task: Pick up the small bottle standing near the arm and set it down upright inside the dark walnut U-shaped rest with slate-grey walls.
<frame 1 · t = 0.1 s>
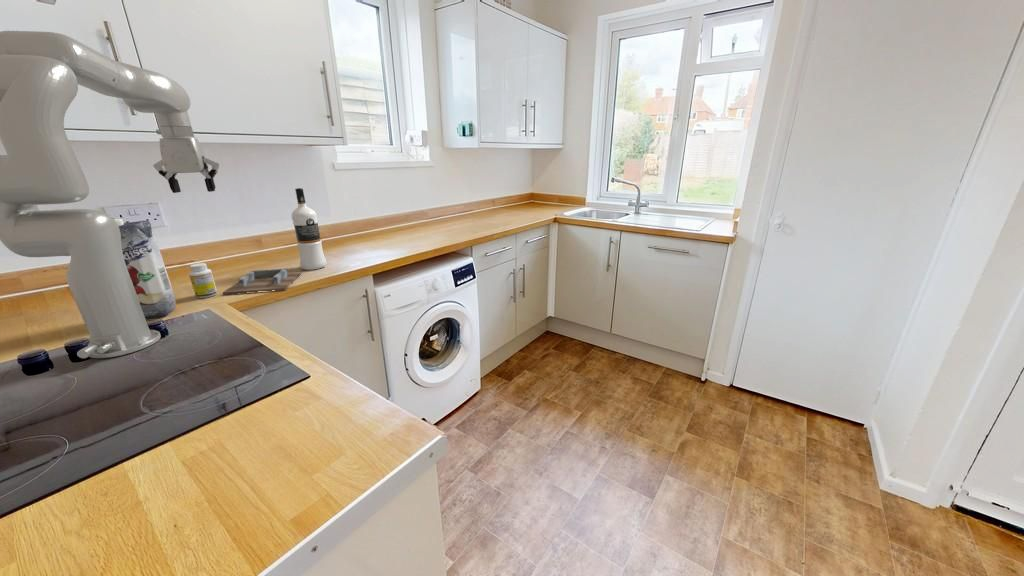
hand: (194, 191, 122), 31 cm above the counter, tool pointing down, fingers open, 9 cm apart
vodka: (314, 267, 151), on the counter
supplement bottle: (207, 296, 123), on the counter
u rest: (265, 284, 132), on the counter
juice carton: (153, 315, 108), on the counter
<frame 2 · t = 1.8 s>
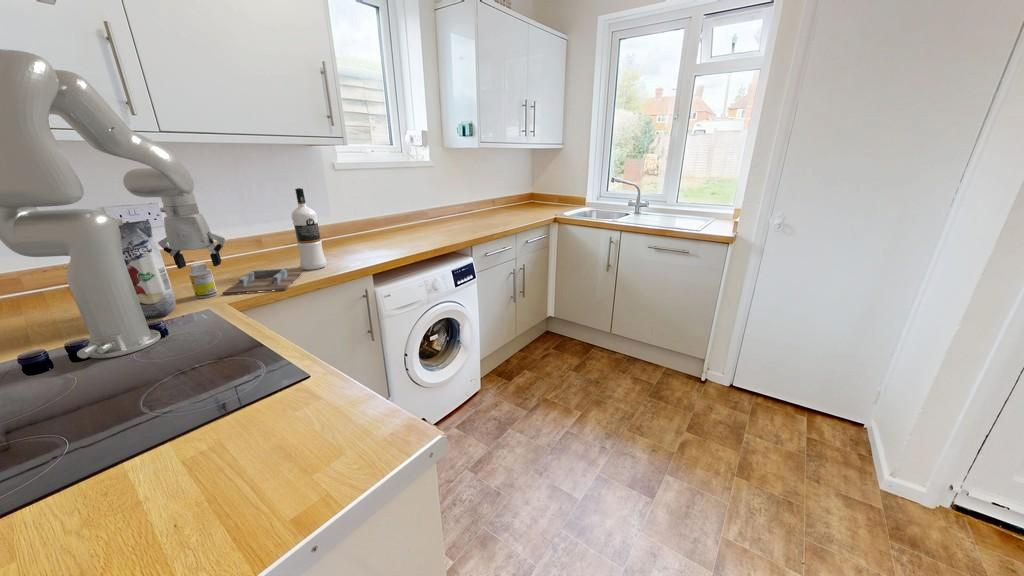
hand: (200, 266, 120), 9 cm above the counter, tool pointing down, fingers open, 9 cm apart
nothing on the counter moved.
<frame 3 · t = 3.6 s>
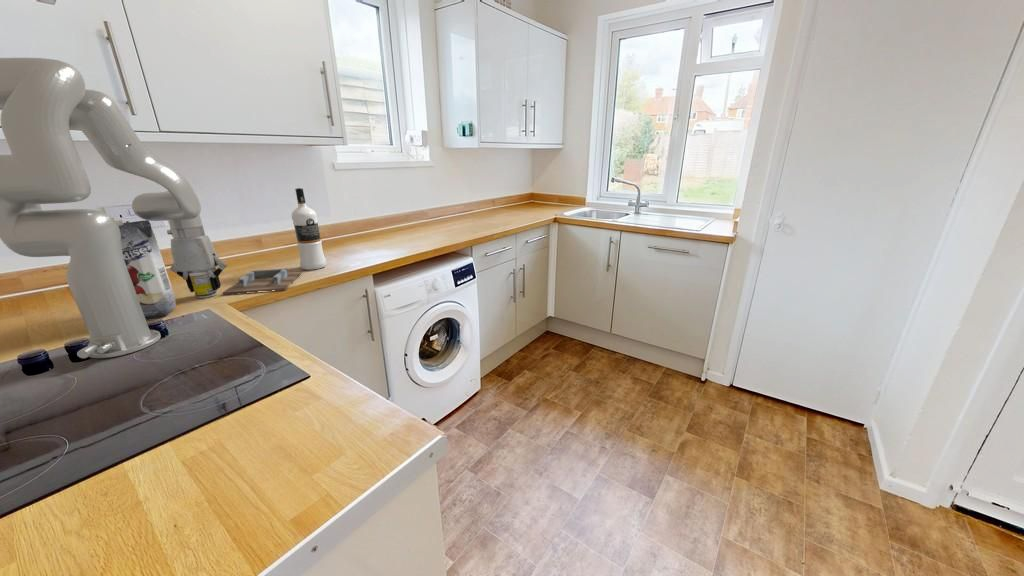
hand: (205, 289, 122), 2 cm above the counter, tool pointing down, fingers closed on supplement bottle, 5 cm apart
supplement bottle: (207, 296, 123), on the counter, touching gripper
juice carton: (153, 315, 108), on the counter, touching arm
everything else where it was.
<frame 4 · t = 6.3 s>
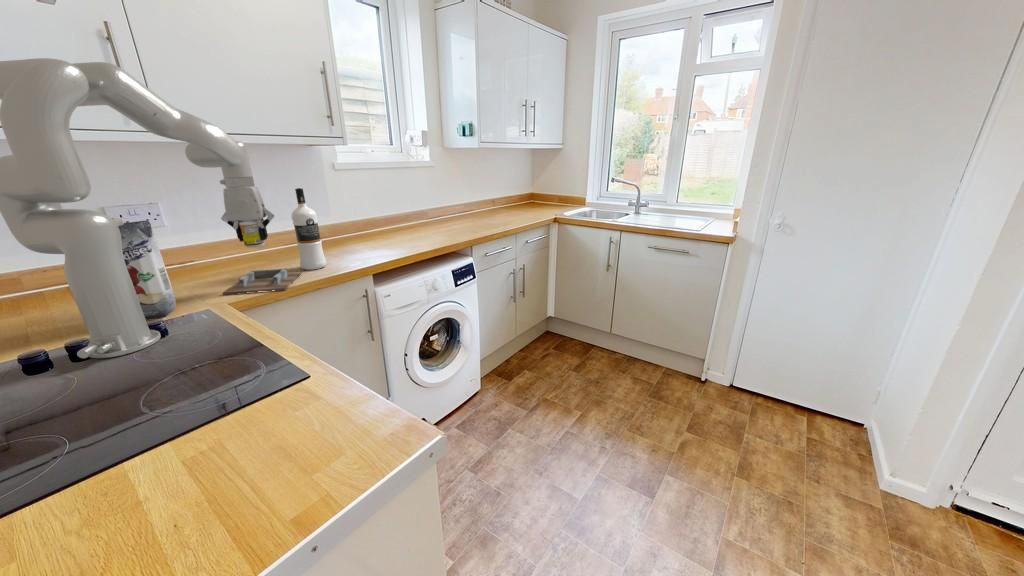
hand: (253, 239, 127), 16 cm above the counter, tool pointing down, fingers closed on supplement bottle, 5 cm apart
supplement bottle: (255, 246, 128), point 13 cm above the counter, touching gripper
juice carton: (153, 315, 108), on the counter
everything else where it was.
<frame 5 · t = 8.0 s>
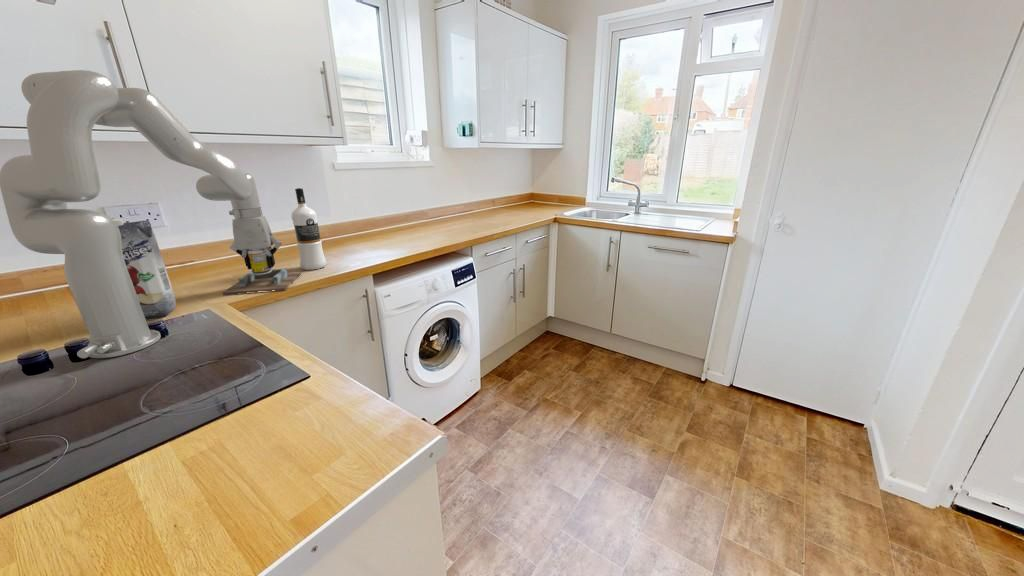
hand: (261, 267, 130), 6 cm above the counter, tool pointing down, fingers closed on supplement bottle, 5 cm apart
supplement bottle: (262, 273, 131), point 4 cm above the counter, touching gripper
everything else where it was.
when the fingers open (5 cm above the counter, at t = 9.1 s): supplement bottle drops 2 cm, resting on u rest.
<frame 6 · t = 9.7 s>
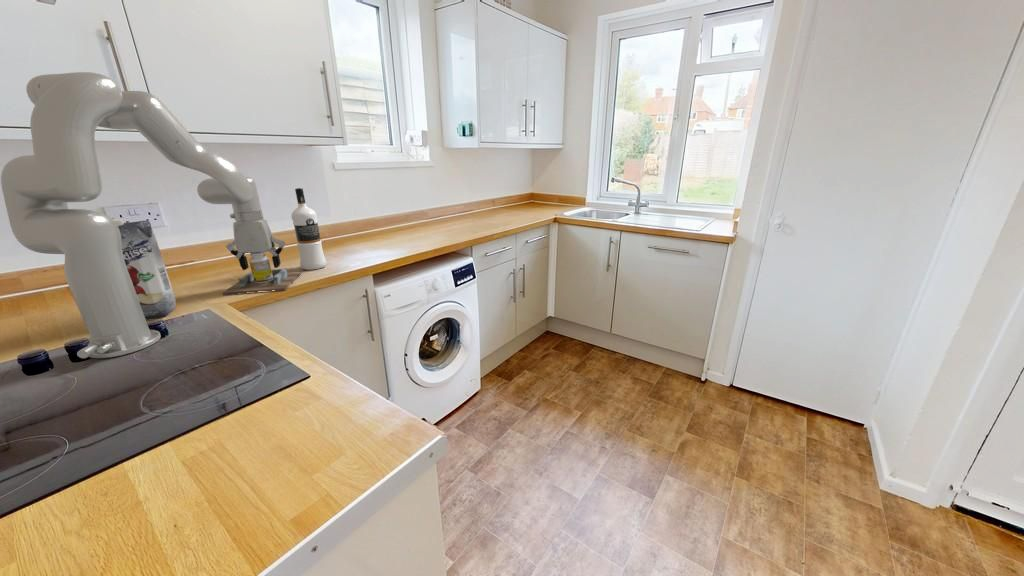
hand: (261, 267, 130), 6 cm above the counter, tool pointing down, fingers open, 9 cm apart
supplement bottle: (264, 282, 132), point 1 cm above the counter, touching u rest
everything else where it was.
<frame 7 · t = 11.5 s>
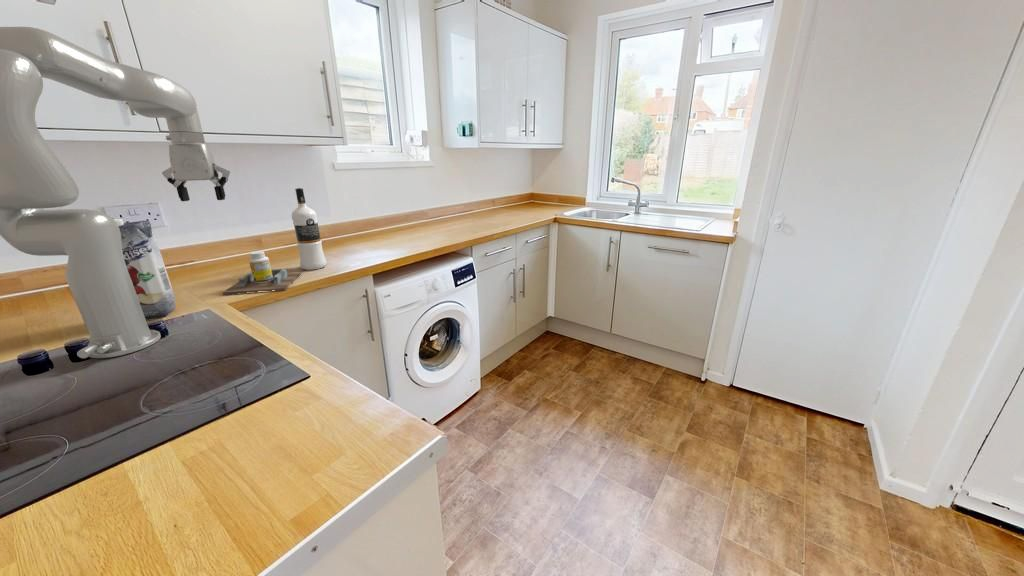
hand: (203, 200, 117), 29 cm above the counter, tool pointing down, fingers open, 9 cm apart
nothing on the counter moved.
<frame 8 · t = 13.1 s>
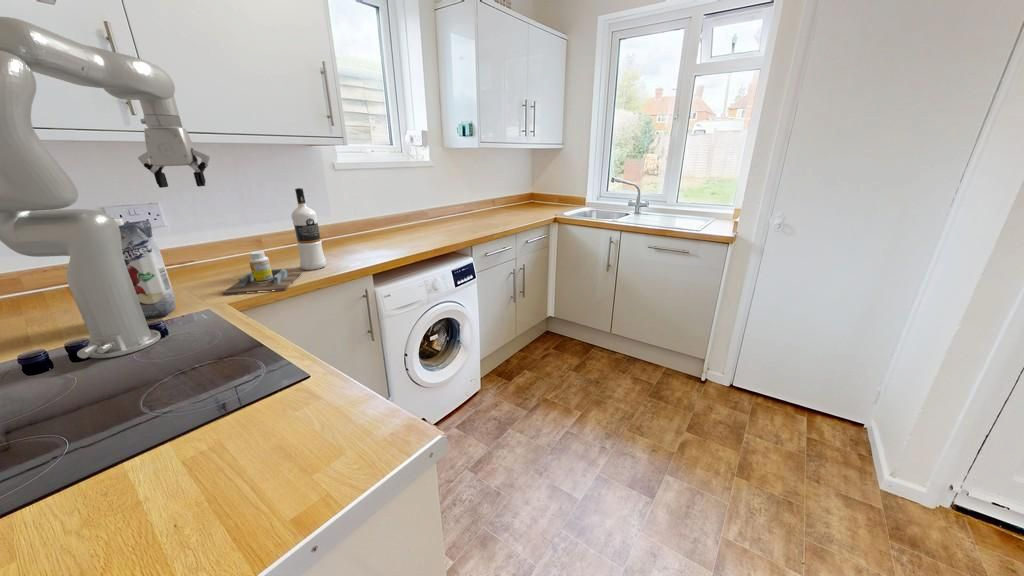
hand: (182, 186, 113), 33 cm above the counter, tool pointing down, fingers open, 9 cm apart
nothing on the counter moved.
at the end: supplement bottle 0.3 cm off-centre on the u rest, point 0.8 cm above the u rest's base; supplement bottle tilted 0°; the gripper is holding nothing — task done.
